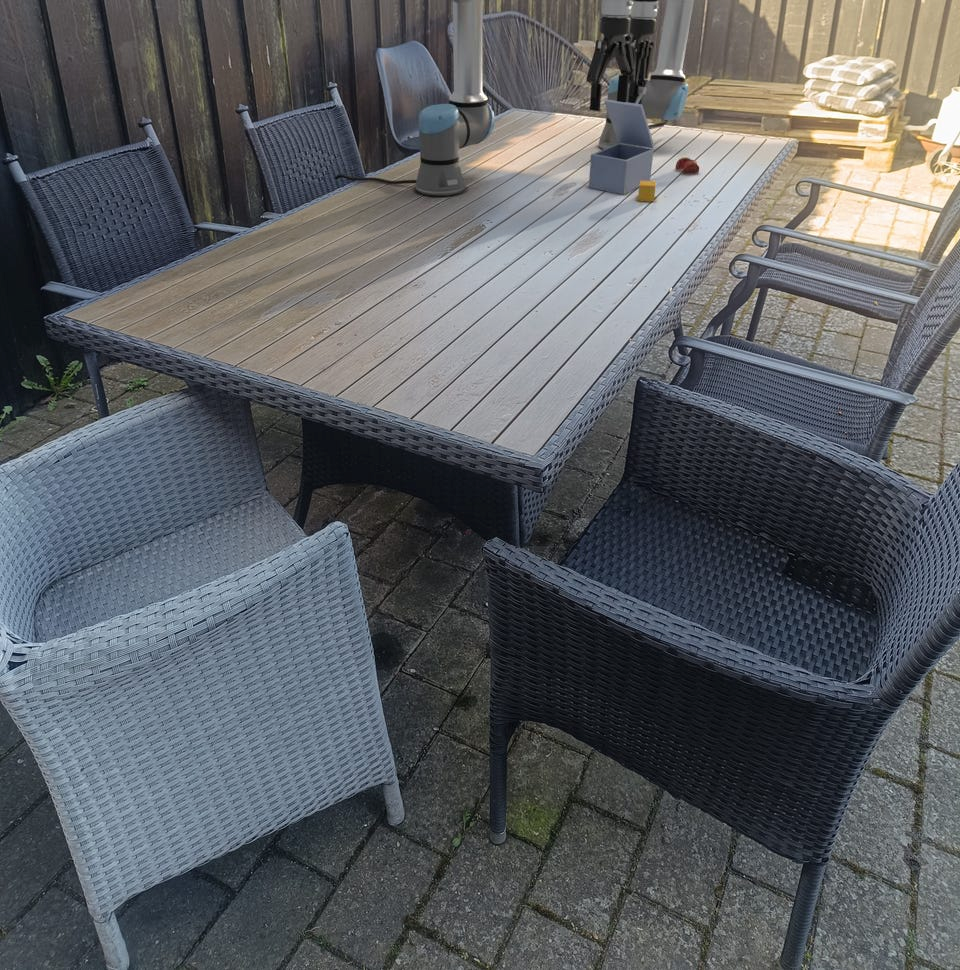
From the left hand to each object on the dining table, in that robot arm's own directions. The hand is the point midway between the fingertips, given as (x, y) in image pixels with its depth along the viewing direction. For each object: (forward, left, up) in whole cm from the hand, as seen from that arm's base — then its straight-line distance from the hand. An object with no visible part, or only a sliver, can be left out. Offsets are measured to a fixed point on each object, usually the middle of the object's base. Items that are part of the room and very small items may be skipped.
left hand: (608, 106), depth 226 cm
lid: (-9, +28, -11) cm, 32 cm away
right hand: (-9, +30, -6) cm, 32 cm away
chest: (-9, +26, -28) cm, 39 cm away
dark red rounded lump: (+1, +52, -28) cm, 59 cm away
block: (+5, +18, -28) cm, 34 cm away
